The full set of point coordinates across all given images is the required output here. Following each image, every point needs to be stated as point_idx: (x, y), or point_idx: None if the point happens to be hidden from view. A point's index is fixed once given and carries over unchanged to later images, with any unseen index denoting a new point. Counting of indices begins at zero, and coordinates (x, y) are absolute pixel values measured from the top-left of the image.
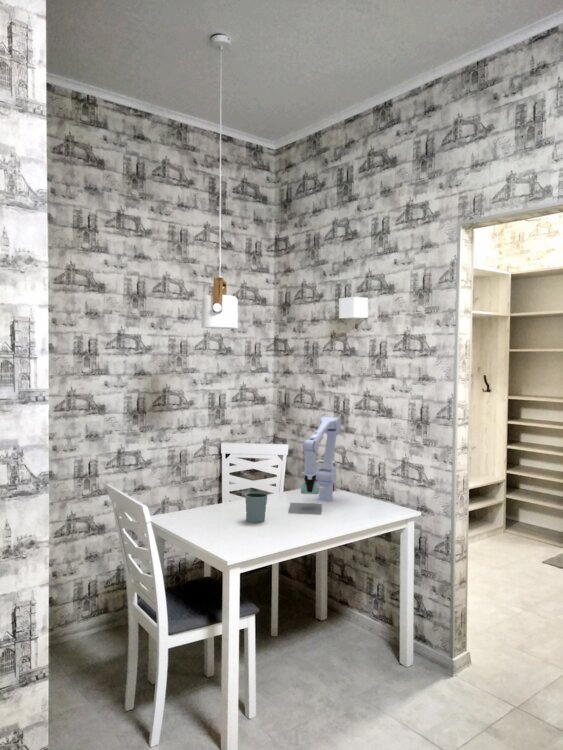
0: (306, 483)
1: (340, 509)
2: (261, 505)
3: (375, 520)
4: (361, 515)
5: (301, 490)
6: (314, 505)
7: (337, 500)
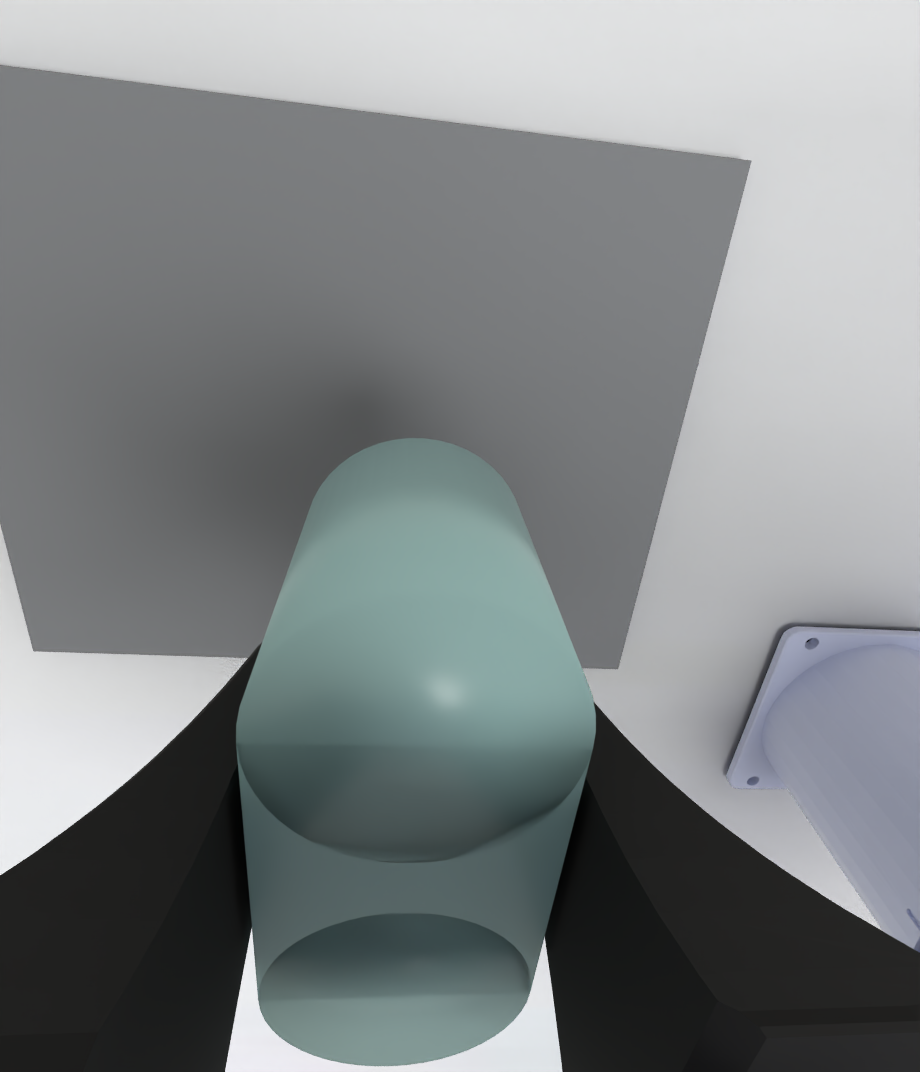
0: (65, 840)
1: None
2: None
3: None
4: None
5: (352, 483)
6: None
7: (794, 814)
